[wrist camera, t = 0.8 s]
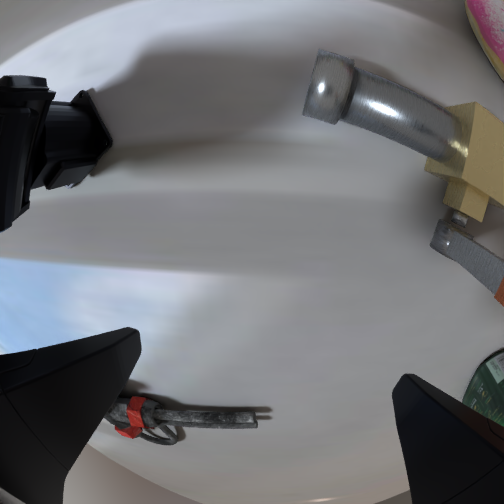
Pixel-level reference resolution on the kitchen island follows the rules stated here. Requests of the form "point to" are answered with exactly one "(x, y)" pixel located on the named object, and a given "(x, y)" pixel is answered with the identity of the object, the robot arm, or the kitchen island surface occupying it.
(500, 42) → the donut
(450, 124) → the pipe valve
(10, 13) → the kitchen island surface
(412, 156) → the kitchen island surface
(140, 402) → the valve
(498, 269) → the chisel
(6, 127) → the robot arm
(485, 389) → the coffee jar
